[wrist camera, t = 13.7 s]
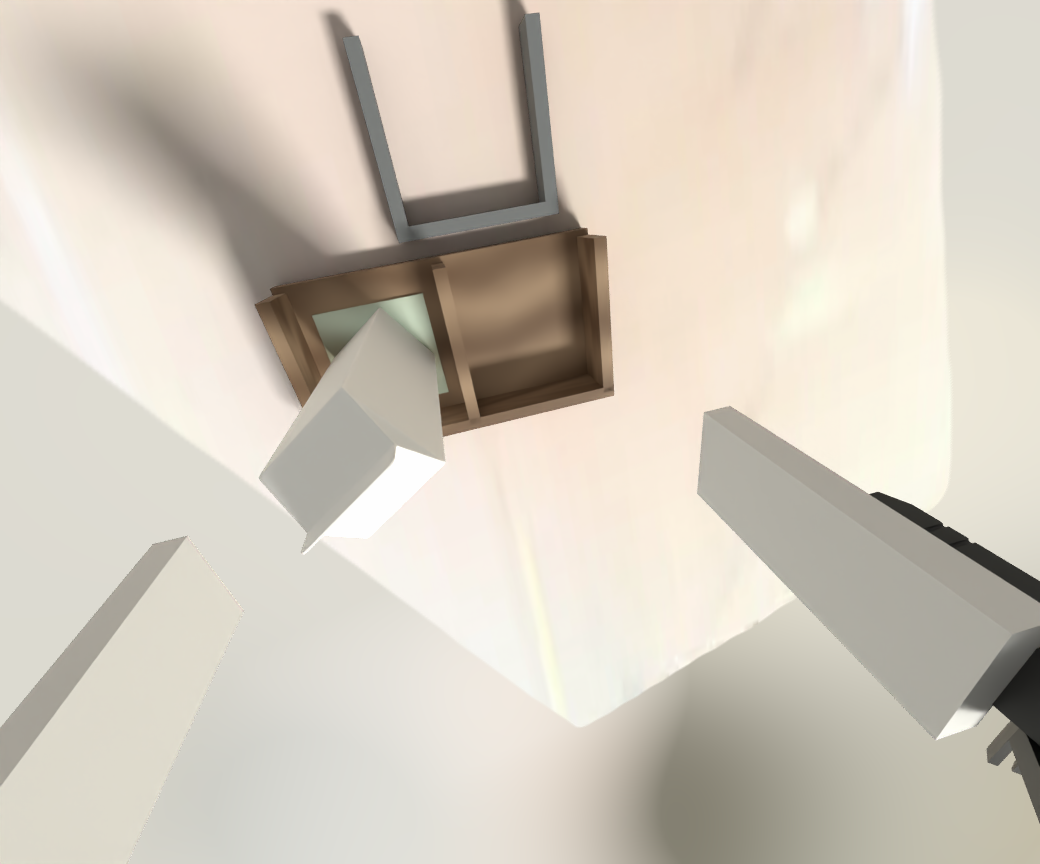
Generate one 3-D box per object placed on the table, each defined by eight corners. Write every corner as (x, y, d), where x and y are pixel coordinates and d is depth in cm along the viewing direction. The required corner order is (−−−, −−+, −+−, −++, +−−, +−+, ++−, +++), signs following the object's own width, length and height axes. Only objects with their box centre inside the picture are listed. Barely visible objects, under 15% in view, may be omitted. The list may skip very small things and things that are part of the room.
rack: (275, 286, 33) (251, 297, 28) (581, 227, 36) (606, 229, 31) (339, 435, 40) (328, 464, 35) (592, 375, 43) (614, 395, 38)
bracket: (347, 49, 28) (342, 37, 26) (532, 25, 29) (539, 12, 27) (400, 242, 33) (399, 243, 32) (552, 213, 35) (558, 213, 33)
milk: (435, 354, 36) (455, 501, 17) (390, 401, 38) (363, 589, 18) (378, 304, 34) (328, 416, 15) (332, 357, 35) (227, 525, 16)
